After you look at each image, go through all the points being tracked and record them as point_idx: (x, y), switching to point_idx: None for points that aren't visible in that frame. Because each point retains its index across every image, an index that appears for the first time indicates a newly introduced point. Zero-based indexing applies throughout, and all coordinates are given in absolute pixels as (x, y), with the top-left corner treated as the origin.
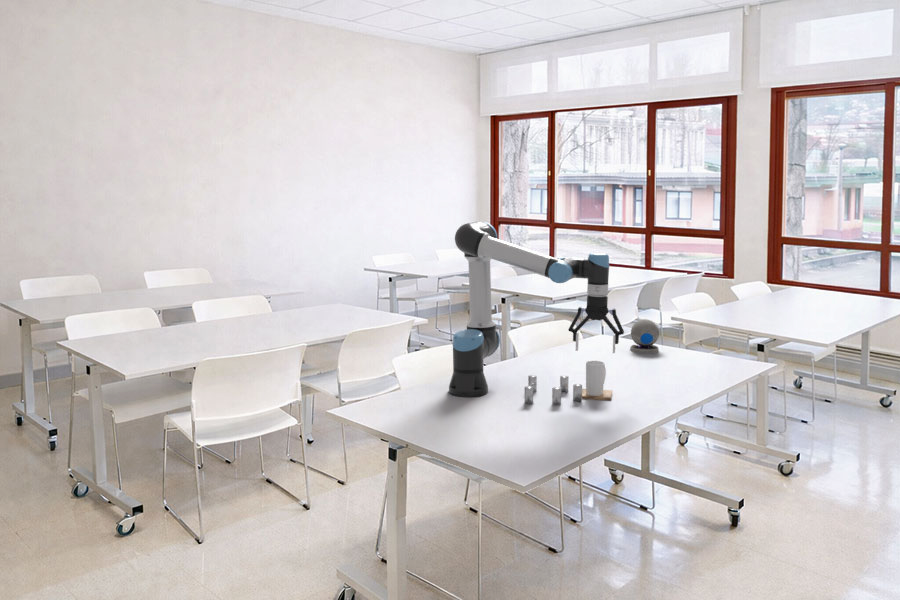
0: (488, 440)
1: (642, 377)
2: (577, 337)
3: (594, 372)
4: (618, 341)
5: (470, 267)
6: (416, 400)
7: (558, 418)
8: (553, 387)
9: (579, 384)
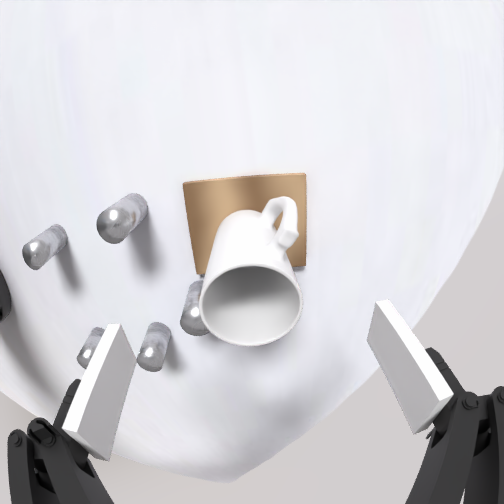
0: (150, 449)
1: None
2: (111, 436)
3: (253, 320)
4: (438, 365)
5: None
6: None
7: (199, 399)
8: (137, 358)
9: (199, 317)
